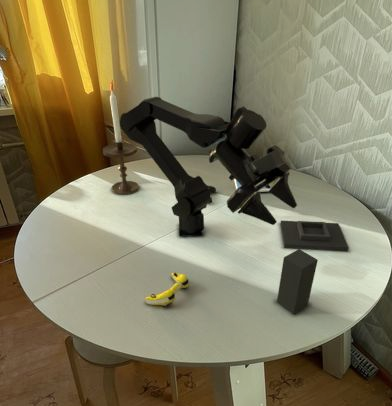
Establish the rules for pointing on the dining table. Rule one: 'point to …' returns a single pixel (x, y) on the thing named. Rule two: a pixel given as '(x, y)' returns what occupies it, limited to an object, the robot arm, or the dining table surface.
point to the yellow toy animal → (169, 291)
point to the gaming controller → (211, 191)
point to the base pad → (313, 235)
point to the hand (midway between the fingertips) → (285, 215)
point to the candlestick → (120, 152)
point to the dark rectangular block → (296, 280)
